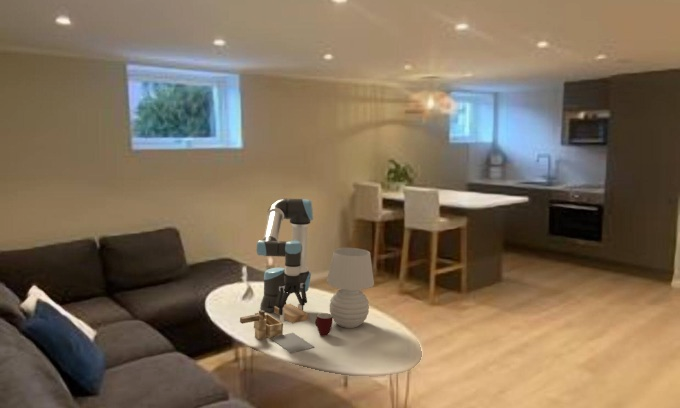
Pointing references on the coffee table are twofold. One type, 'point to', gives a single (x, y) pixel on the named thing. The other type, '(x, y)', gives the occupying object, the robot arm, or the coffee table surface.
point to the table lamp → (350, 286)
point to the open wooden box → (267, 327)
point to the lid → (293, 313)
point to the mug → (324, 323)
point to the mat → (292, 342)
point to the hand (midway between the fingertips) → (290, 319)
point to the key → (252, 317)
